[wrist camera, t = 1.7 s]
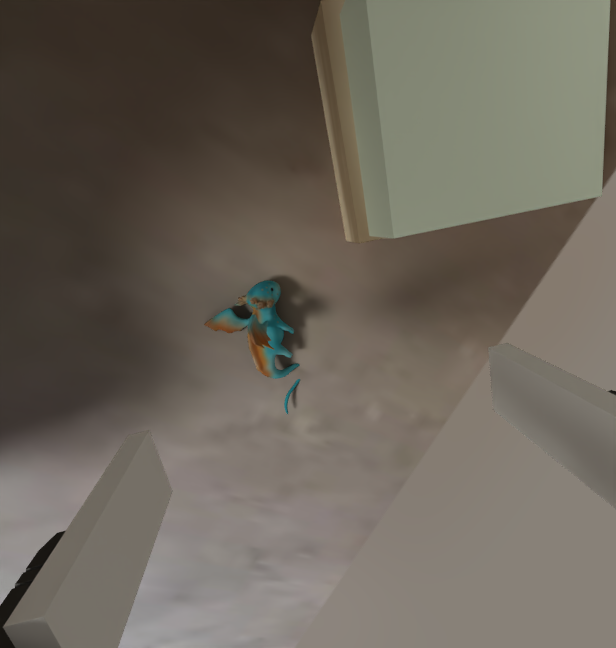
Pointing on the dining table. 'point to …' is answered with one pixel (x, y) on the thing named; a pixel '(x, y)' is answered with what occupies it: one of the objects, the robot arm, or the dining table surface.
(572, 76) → the tower top
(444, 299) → the dining table surface
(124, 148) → the dining table surface
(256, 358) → the dragon figurine
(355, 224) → the tower base
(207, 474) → the dining table surface
